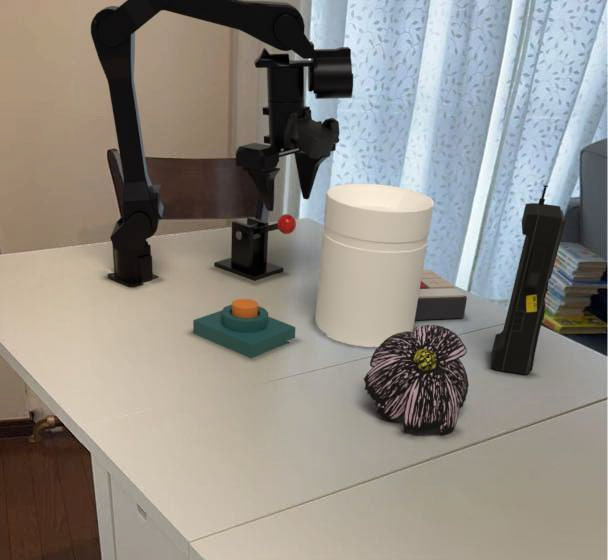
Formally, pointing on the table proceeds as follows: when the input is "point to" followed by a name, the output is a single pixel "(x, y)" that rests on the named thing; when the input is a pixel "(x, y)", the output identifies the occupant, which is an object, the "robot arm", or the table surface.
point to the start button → (245, 308)
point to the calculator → (438, 298)
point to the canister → (371, 262)
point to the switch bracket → (249, 252)
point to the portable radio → (529, 288)
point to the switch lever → (276, 226)
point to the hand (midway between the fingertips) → (288, 204)
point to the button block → (244, 331)
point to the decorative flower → (419, 379)
